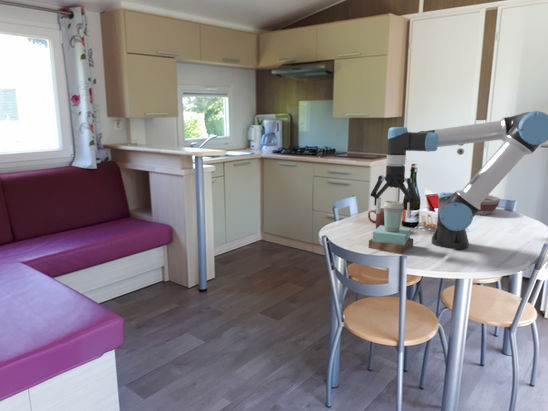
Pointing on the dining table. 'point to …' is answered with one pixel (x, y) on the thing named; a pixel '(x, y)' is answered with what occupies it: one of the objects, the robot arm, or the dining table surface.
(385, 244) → the tower base
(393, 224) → the coffee cup
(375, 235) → the tower top
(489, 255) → the dining table surface
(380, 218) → the mug
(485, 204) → the bowl
